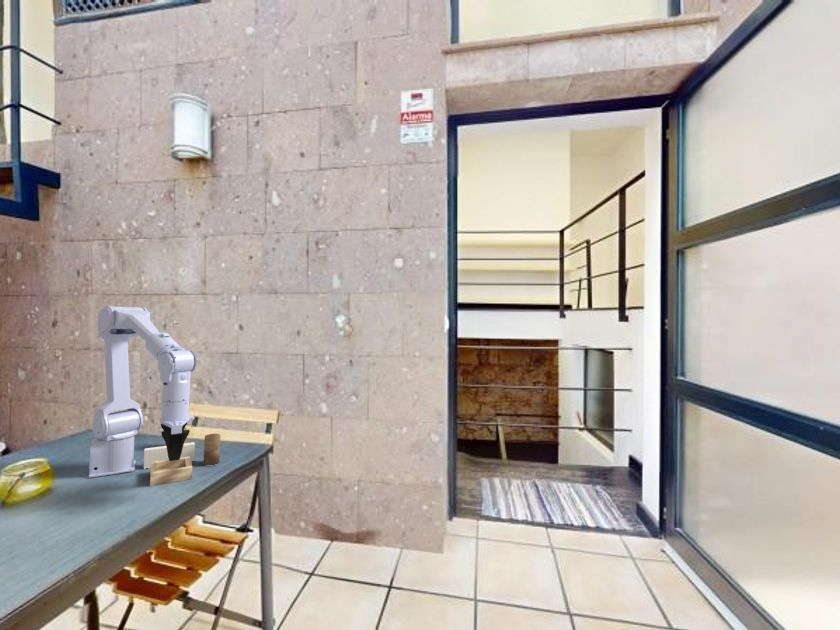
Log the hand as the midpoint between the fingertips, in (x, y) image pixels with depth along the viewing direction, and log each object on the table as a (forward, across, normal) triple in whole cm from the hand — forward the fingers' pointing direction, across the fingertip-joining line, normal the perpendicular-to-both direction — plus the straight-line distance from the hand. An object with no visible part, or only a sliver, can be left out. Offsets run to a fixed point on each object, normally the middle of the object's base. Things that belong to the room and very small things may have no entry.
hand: (173, 455), depth 96 cm
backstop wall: (+8, +19, 0) cm, 21 cm away
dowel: (+8, +14, -10) cm, 19 cm away
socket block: (+8, +10, 0) cm, 13 cm away
